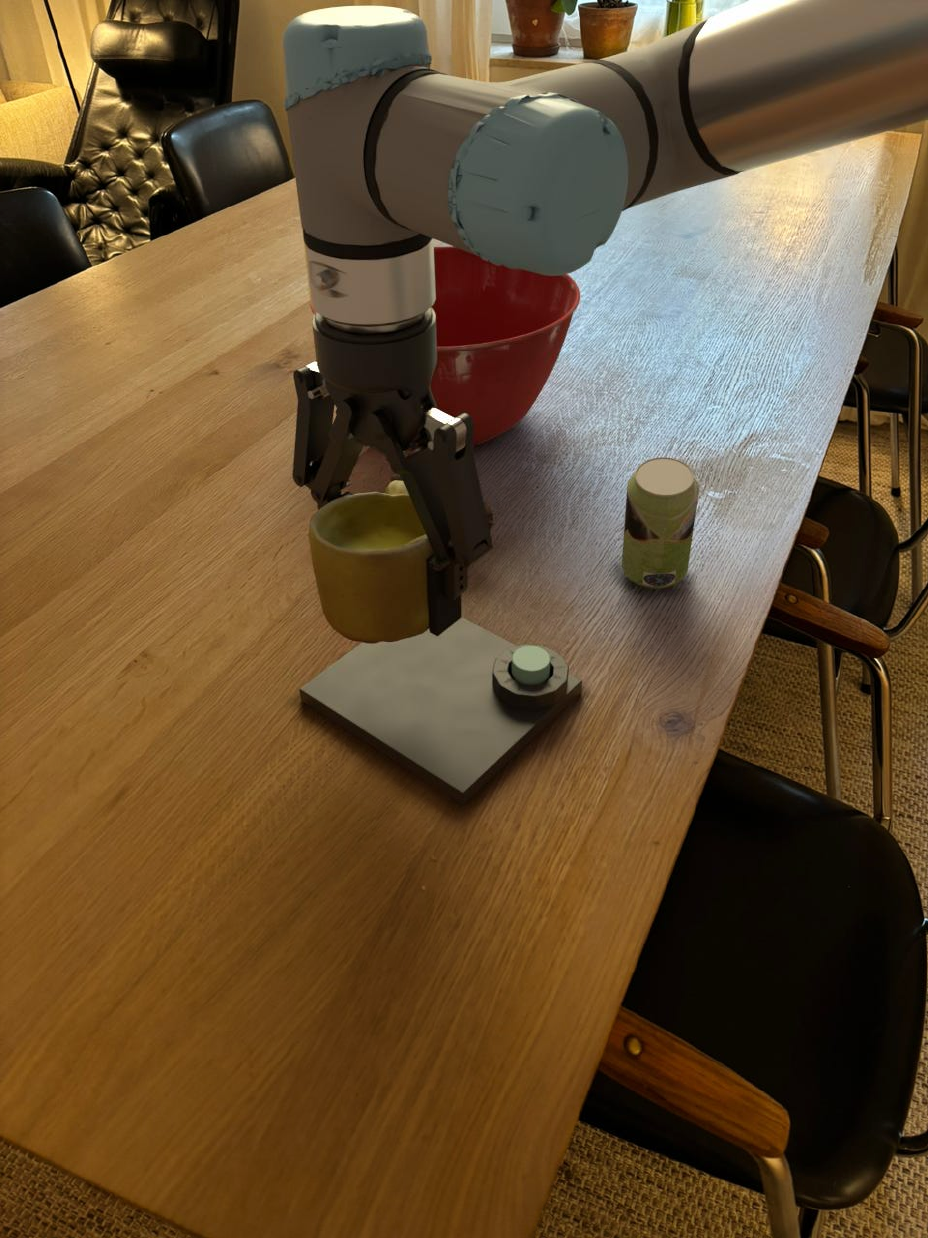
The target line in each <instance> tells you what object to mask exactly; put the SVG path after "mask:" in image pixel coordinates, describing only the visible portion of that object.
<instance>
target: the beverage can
mask: <svg viewBox="0 0 928 1238" xmlns="http://www.w3.org/2000/svg"><path fill="white" fill-rule="evenodd" d="M626 487H627V488H626V497H625V499H626V500H625V512H624V524H623V525H624V526H623V539H622V551H621V552H622V553H621V567H622V571H623V573H624V575H625V576H626V577H627V578H628V579H629V580H630V581H631V582H633V583H634V584H635V585H638V586H640V587H644V588H648V589H666V588H669V587H672V586H675V585H676V584H678V583H680V582H681V581H682V580H683V579H684V578H685V577H686V575H687V573H688V570H689V564H690V557H691V551H692V550H691V549H692V545H693V544H692V542H693V536H694V529H695V523H696V515H697V508H698V501H699V494H700V488H699V487H700V486H699V484H698V480H697V478H695V474H694V472H693V469H692V468H691V467H690V466H689V465H688V464H686V463H685V462H684V461H681V460H679V459H676V458H674V457H666V456H661V457H659V456H658V457H653V458H650V459H647V460H645V461H643V462H641V464H639V465H638V466H637V468H636V470H635V471H634V472H633V474H632V475H631V476H630V478H629V479H628V482H627V486H626Z"/></svg>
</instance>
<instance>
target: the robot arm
mask: <svg viewBox="0 0 928 1238" xmlns="http://www.w3.org/2000/svg"><path fill="white" fill-rule="evenodd" d="M282 48H283V58H284V59H283V62H284V77H285V94H286V95H285V96H286V97H285V100H284V103H283V107H284V111H285V112H286V115H287V124H288V132H289V139H290V147H291V155H292V156H291V157H292V162H293V170H294V178H295V185H296V194H297V201H298V202H297V203H298V209H299V219H300V225H301V228H302V237H303V238H302V239H303V249H304V257H305V266H306V277H307V283H308V284H307V285H308V292H309V294H308V295H309V304H310V303H311V306H312V308H313V309H314V310H315V311H316V313H315V314H313V315H312V318H311V325H312V326H311V327H312V334H313V343H314V353H315V360H314V361H311V362H310V363H307V364H306V365H303V366H301V367H299V368H297V369H295V370H294V371H293V373H292V377H293V382H294V388H295V393H296V397H297V398H296V399H297V406H296V407H297V408H296V411H297V412H296V419H295V420H296V421H295V436H294V447H293V448H294V449H293V463H292V480H293V482H294V483H295V484H294V485H296V486H297V487H299V488H303V487H307V488H308V489H309V490H310V496H311V498H312V499H313V501H314V502H316V507H317V511H318V510H319V509H320V508H322V507H323V506H324V505H326V504H328V503H329V502H331V501H333V500H335V499H337V498H341V497H344V496H346V495H354V493H353V492H350V491H345V492H344V493H342V491H343V490H344V489H346V488H348V487H350V486H351V485H352V484H353V481H351V479H350V478H351V476H352V473H353V471H354V470H355V467H356V464H357V463H358V460H359V458H360V455H361V454H362V451H363V448H364V447H372V448H373V449H375V450H376V451H377V452H379V454H382V455H384V456H385V459H386V461H387V463H388V465H389V468H390V470H391V472H392V473H394V474H395V475H398V476H401V478H402V480H403V482H404V485H405V487H406V489H407V492H408V494H409V496H410V499H411V501H412V503H413V505H414V508H415V510H416V512H417V515H418V517H419V519H420V522H421V524H422V526H423V529H424V531H425V533H426V535H427V538H428V540H429V542H430V545H431V547H432V549H433V552H434V555H432V556H431V557H429V558H428V559H427V560H426V562H427V585H428V608H429V631H430V633H432V634H434V635H435V636H437V637H438V636H439V635H440V634H441V633H443V632H444V631H445V630H446V629H448V628H449V627H450V626H452V625H453V624H454V623H455V622H457V621H458V620H459V619H460V618H462V617H463V616H462V594H464V593H465V592H466V591H467V589H468V588H469V580H468V579H469V568H470V567H471V566H473V565H474V564H475V563H476V562H478V561H479V560H480V559H482V558H484V557H485V556H486V555H487V554H488V553H490V552H492V551H493V549H494V543H493V539H492V538H493V537H492V533H491V531H490V529H489V524H488V520H487V515H486V510H485V506H484V501H485V500H484V496H483V492H482V487H481V483H480V479H479V473H478V469H477V465H476V459H475V455H474V449H473V447H474V446H473V434H474V422H473V419H472V418H471V416H469V415H468V414H466V413H463V414H461V415H459V416H457V417H456V418H453V417H451V416H449V415H447V414H445V413H443V412H441V411H439V410H437V406H436V403H435V400H434V398H433V395H432V392H431V388H430V382H431V378H432V375H433V372H434V369H435V367H436V363H437V337H436V314H435V312H434V310H433V309H432V308H431V306H432V305H433V304H434V302H435V300H436V290H435V267H434V247H435V246H434V240H436V241H438V242H441V243H443V244H447V245H449V246H454V247H456V248H459V249H462V250H464V251H467V252H469V253H472V254H474V255H477V256H479V257H481V258H482V259H483V260H485V261H490V262H491V263H492V264H495V265H497V266H501V265H504V266H505V267H507V268H510V269H523V270H527V271H530V272H534V273H538V274H542V275H547V276H559V275H565V274H568V275H570V274H571V273H574V272H576V271H578V270H580V269H582V268H583V267H584V266H586V265H587V264H588V263H590V262H591V260H592V258H593V256H594V253H595V250H596V249H598V248H599V247H601V246H604V245H606V244H607V242H608V241H609V239H610V238H611V236H612V234H614V231H615V229H616V227H617V225H618V223H619V220H620V218H621V216H622V213H623V212H624V211H626V210H628V209H630V208H633V207H634V208H635V207H636V206H639V205H642V204H645V203H648V202H651V201H653V200H657V199H660V198H662V197H665V196H668V195H672V194H674V193H677V192H680V191H685V190H687V189H691V188H694V187H697V186H701V185H704V184H709V183H712V182H715V181H719V180H722V179H726V178H730V177H733V176H736V175H737V176H738V175H739V174H740V173H743V172H746V171H751V170H754V169H758V168H761V167H765V166H769V165H772V164H775V163H779V162H782V161H783V162H784V161H786V160H790V159H794V158H797V157H800V156H805V155H807V154H808V155H809V154H811V153H815V152H818V151H819V152H820V151H823V150H825V149H829V148H832V147H837V146H840V145H844V144H848V143H850V142H854V141H858V140H861V139H866V138H869V137H872V136H875V135H880V134H883V133H887V132H890V131H894V130H897V129H898V130H899V129H901V128H904V127H907V126H911V125H915V124H919V123H922V122H926V121H928V0H748V1H746V2H744V3H741V4H739V5H737V6H735V7H733V8H730V9H728V10H724V11H723V12H721V13H718V14H716V15H714V16H712V17H710V18H707V19H705V20H701V21H699V22H696V23H694V24H692V25H689V26H687V27H685V28H683V29H680V30H678V31H675V32H673V33H672V34H669V35H666V36H664V37H662V38H659V39H657V40H655V41H652V42H650V43H647V44H645V45H642V46H639V47H636V48H633V49H630V50H626V51H624V52H620V53H617V54H614V55H611V56H610V55H609V56H607V57H603V58H600V59H593V60H587V61H584V62H579V63H577V64H573V65H569V66H564V67H560V68H556V69H551V70H548V71H547V70H546V71H544V72H539V73H536V74H532V75H529V76H524V77H520V78H516V79H513V80H512V79H511V80H507V81H498V82H495V81H494V82H493V81H481V80H476V79H470V78H465V77H460V76H455V75H454V76H453V75H449V74H447V73H445V72H440V71H437V70H435V69H431V65H432V60H433V56H432V54H431V52H430V48H429V41H428V30H427V26H426V24H425V21H423V19H421V18H420V17H419V15H417V14H415V13H413V12H412V11H410V10H409V9H404V8H400V7H393V6H385V5H345V6H333V7H325V8H320V9H315V10H311V11H307V12H304V13H301V14H300V15H298V16H296V17H295V18H294V19H292V20H291V22H289V24H288V25H287V26H286V28H285V31H284V33H283V38H282ZM311 306H310V307H311ZM334 415H335V417H334ZM416 443H418V446H417V448H416V449H415V450H413V451H412V452H410V453H408V454H406V455H405V452H406V451H408V450H409V449H411V448H413V447H414V446H416V445H415V444H416ZM451 538H452V540H451V541H450V542H449V540H450V539H451Z"/></svg>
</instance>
